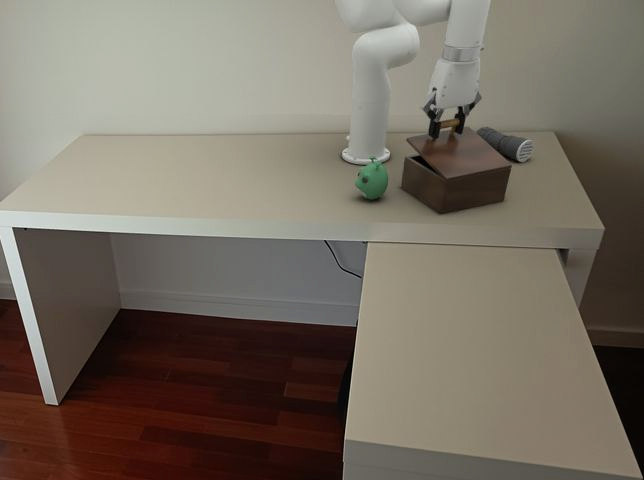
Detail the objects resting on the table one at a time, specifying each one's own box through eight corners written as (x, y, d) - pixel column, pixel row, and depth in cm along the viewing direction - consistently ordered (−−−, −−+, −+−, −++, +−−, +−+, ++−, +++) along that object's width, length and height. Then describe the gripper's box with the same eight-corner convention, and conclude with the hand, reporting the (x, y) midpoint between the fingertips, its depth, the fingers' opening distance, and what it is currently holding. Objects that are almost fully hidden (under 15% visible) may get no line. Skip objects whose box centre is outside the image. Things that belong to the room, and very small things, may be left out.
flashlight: (470, 147, 176) (473, 127, 173) (485, 142, 178) (489, 123, 175) (515, 163, 165) (520, 143, 162) (531, 159, 167) (536, 138, 163)
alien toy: (349, 194, 159) (353, 154, 153) (380, 190, 159) (385, 151, 153) (358, 206, 153) (362, 165, 147) (390, 202, 153) (395, 162, 147)
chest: (400, 187, 160) (404, 156, 155) (459, 175, 162) (465, 145, 158) (440, 214, 147) (445, 181, 142) (503, 200, 149) (511, 168, 145)
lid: (405, 140, 153) (411, 121, 149) (467, 129, 156) (474, 109, 152) (445, 181, 142) (452, 161, 138) (511, 168, 145) (519, 148, 141)
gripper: (484, 43, 145) (467, 123, 156) (416, 54, 141) (403, 135, 153) (506, 51, 139) (487, 134, 150) (436, 62, 136) (421, 146, 147)
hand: (445, 133), depth 151 cm, fingers closed on lid, 5 cm apart
